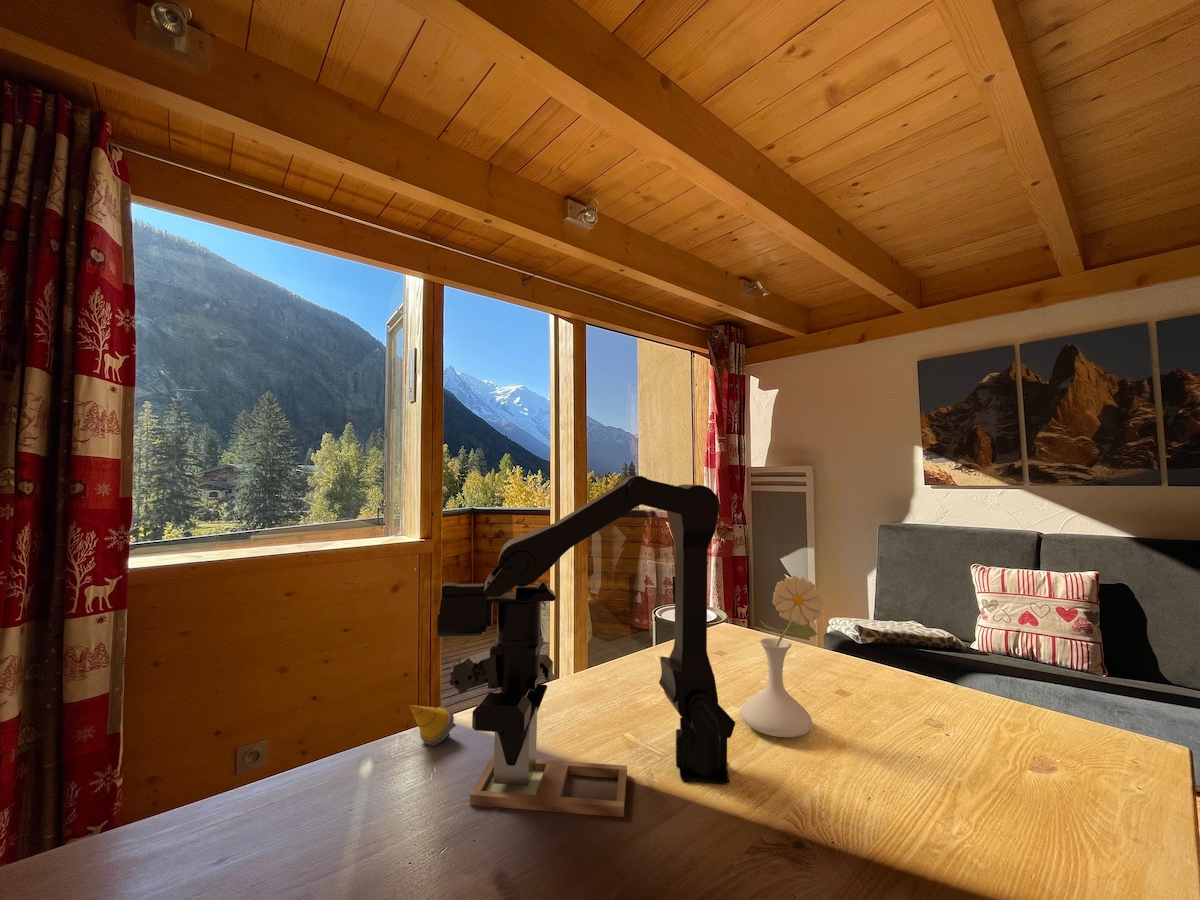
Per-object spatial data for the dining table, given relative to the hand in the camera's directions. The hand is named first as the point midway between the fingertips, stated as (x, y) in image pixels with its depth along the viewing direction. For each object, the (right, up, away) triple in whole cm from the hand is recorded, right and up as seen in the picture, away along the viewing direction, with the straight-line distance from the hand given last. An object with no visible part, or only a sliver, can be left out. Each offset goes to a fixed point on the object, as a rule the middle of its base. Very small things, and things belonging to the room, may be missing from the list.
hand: (515, 754), depth 68 cm
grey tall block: (0, -3, 0) cm, 2 cm away
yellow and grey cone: (-14, -5, +10) cm, 18 cm away
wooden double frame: (+5, -4, -1) cm, 6 cm away
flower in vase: (+41, -6, +17) cm, 44 cm away
